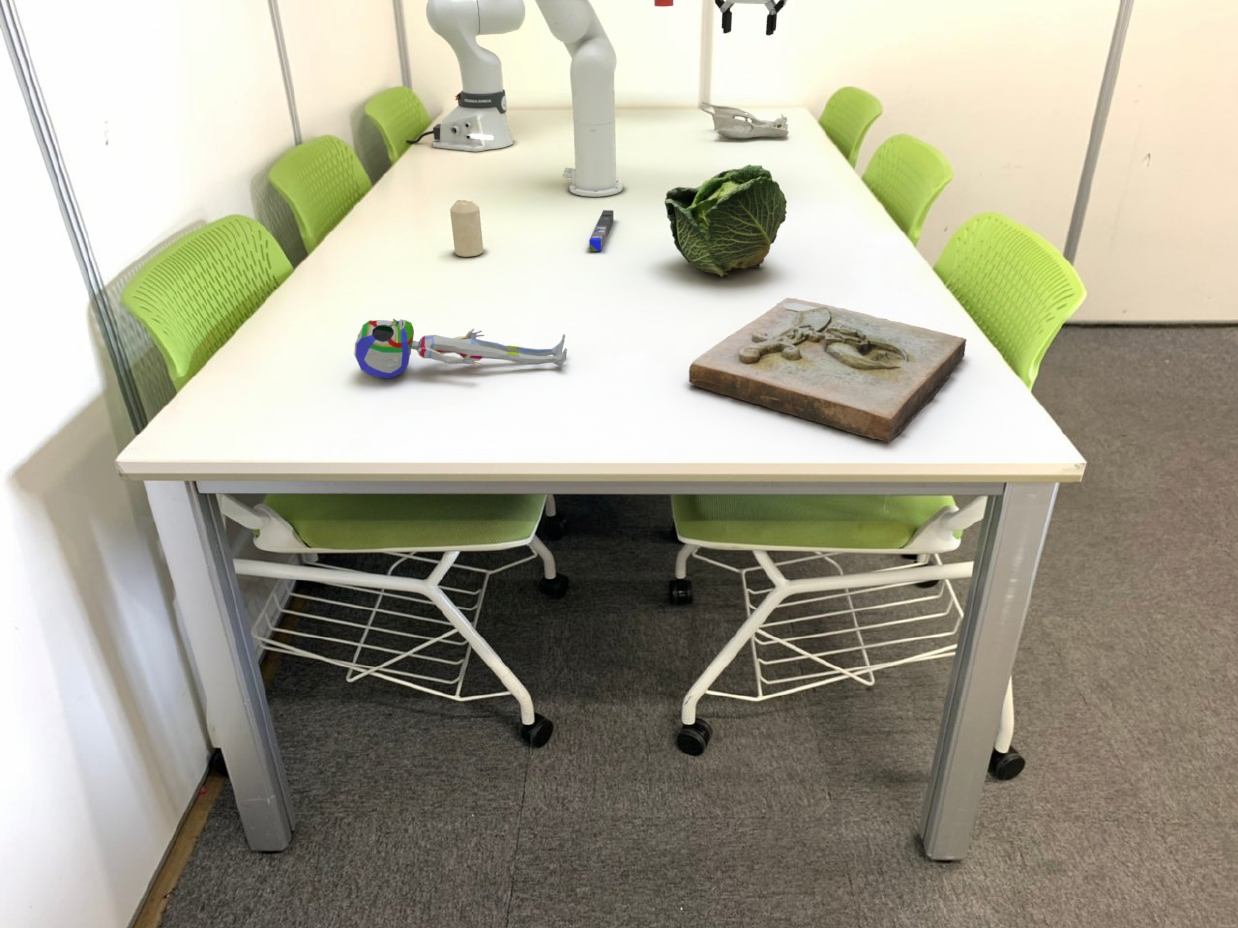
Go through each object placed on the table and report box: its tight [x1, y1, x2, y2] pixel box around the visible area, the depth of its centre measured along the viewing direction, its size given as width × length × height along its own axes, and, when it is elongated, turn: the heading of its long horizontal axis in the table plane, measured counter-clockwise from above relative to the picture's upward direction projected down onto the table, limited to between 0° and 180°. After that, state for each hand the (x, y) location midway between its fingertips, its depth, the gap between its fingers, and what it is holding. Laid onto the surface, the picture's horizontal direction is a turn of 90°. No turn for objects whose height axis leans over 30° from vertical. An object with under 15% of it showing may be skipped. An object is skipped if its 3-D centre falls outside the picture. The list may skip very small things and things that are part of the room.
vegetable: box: [664, 164, 788, 278], centre depth 161 cm, size 20×19×20 cm
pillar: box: [588, 209, 615, 252], centre depth 182 cm, size 2×2×20 cm
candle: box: [449, 199, 484, 258], centre depth 172 cm, size 6×6×10 cm
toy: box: [353, 318, 568, 379], centre depth 130 cm, size 10×8×30 cm
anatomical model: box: [700, 101, 789, 140], centre depth 253 cm, size 15×9×25 cm
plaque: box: [688, 297, 967, 444], centre depth 127 cm, size 30×7×30 cm
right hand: (748, 33), depth 192 cm, fingers open, 9 cm apart
